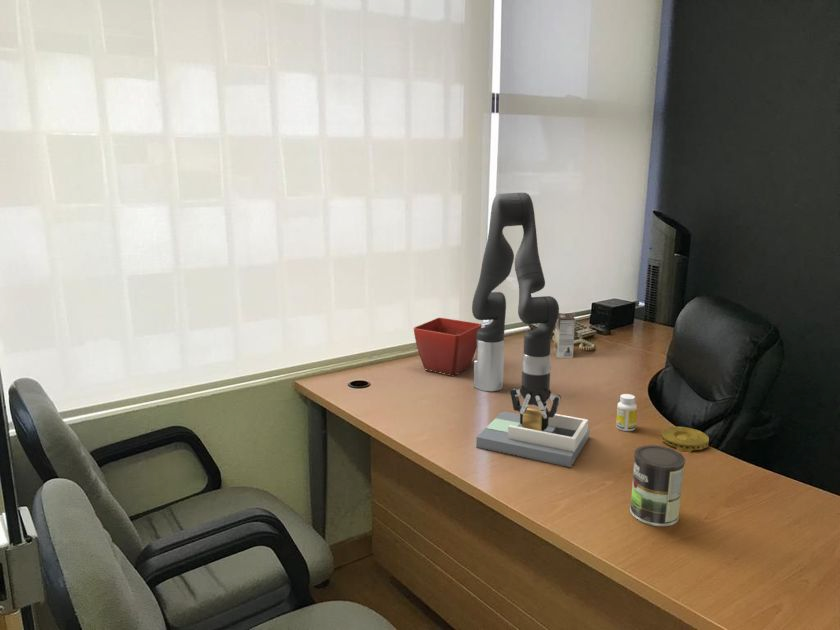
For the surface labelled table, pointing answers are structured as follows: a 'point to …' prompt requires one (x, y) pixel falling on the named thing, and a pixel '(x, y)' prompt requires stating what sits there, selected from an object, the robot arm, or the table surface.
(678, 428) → the gold flat disc
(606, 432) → the table surface
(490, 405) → the table surface
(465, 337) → the plant pot
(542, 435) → the walled pit deck
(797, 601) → the table surface
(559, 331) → the coffee box
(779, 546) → the table surface
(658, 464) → the coffee can
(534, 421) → the mustard block
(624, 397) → the supplement bottle
